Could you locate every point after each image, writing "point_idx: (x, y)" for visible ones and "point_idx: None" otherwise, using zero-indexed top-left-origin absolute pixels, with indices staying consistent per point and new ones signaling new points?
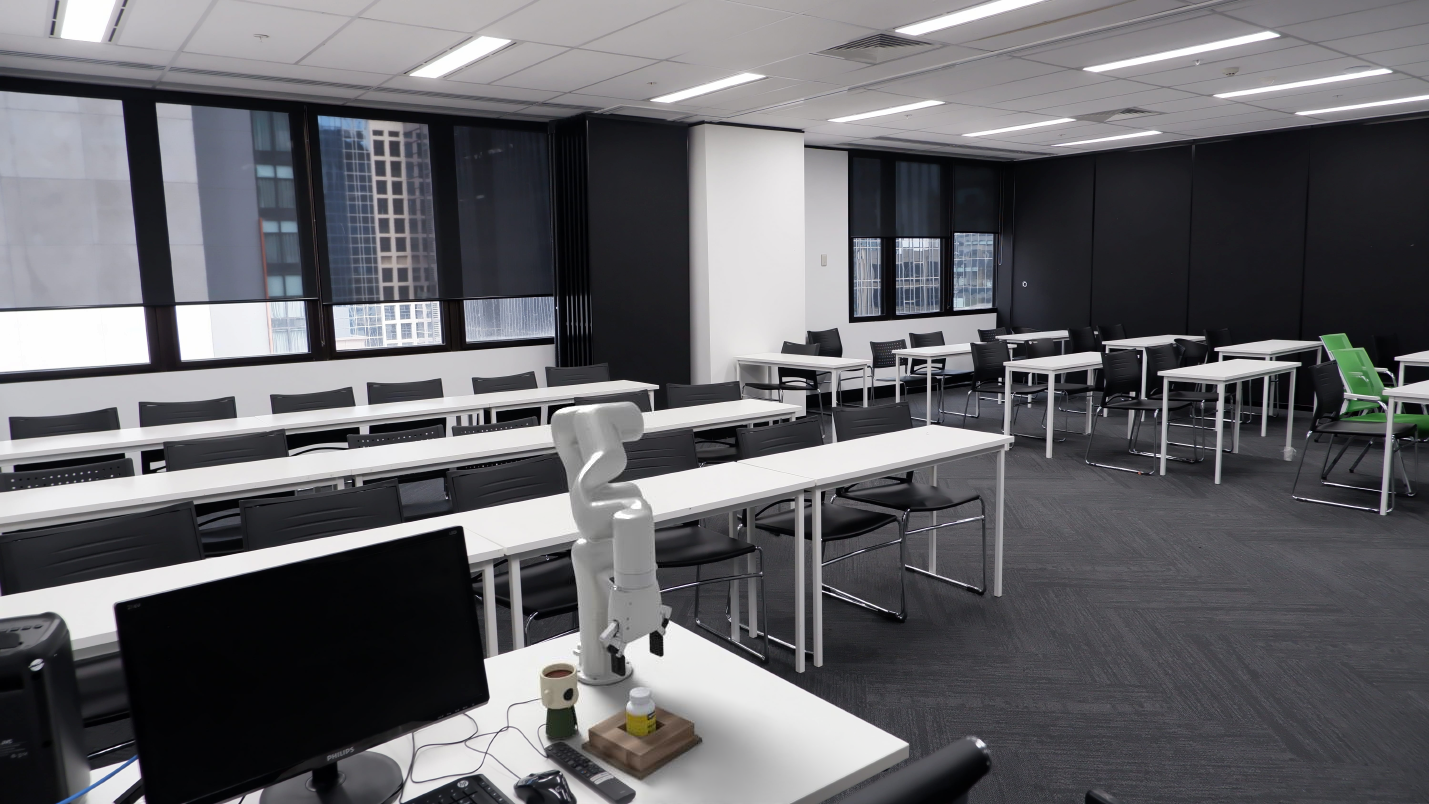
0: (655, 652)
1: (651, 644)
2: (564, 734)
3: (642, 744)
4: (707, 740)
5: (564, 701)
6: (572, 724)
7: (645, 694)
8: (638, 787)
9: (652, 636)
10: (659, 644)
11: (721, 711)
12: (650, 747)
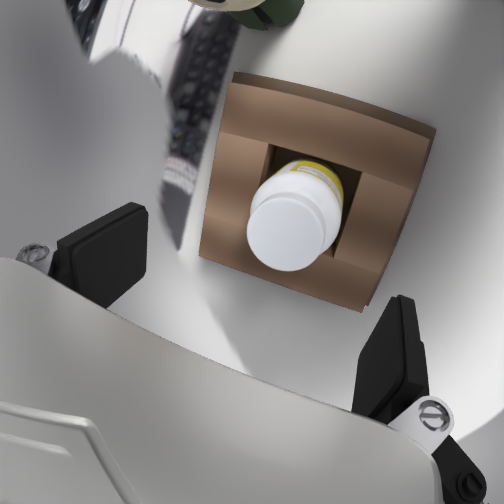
0: (373, 337)
1: (386, 342)
2: (238, 20)
3: (234, 241)
4: (374, 308)
5: (193, 2)
6: (253, 21)
7: (275, 260)
8: (188, 249)
9: (380, 394)
10: (355, 402)
11: (482, 295)
12: (233, 262)
